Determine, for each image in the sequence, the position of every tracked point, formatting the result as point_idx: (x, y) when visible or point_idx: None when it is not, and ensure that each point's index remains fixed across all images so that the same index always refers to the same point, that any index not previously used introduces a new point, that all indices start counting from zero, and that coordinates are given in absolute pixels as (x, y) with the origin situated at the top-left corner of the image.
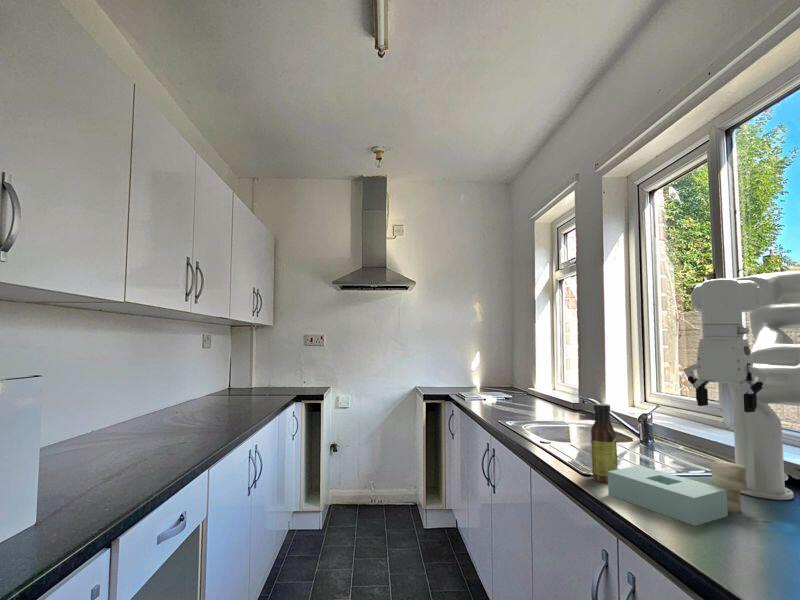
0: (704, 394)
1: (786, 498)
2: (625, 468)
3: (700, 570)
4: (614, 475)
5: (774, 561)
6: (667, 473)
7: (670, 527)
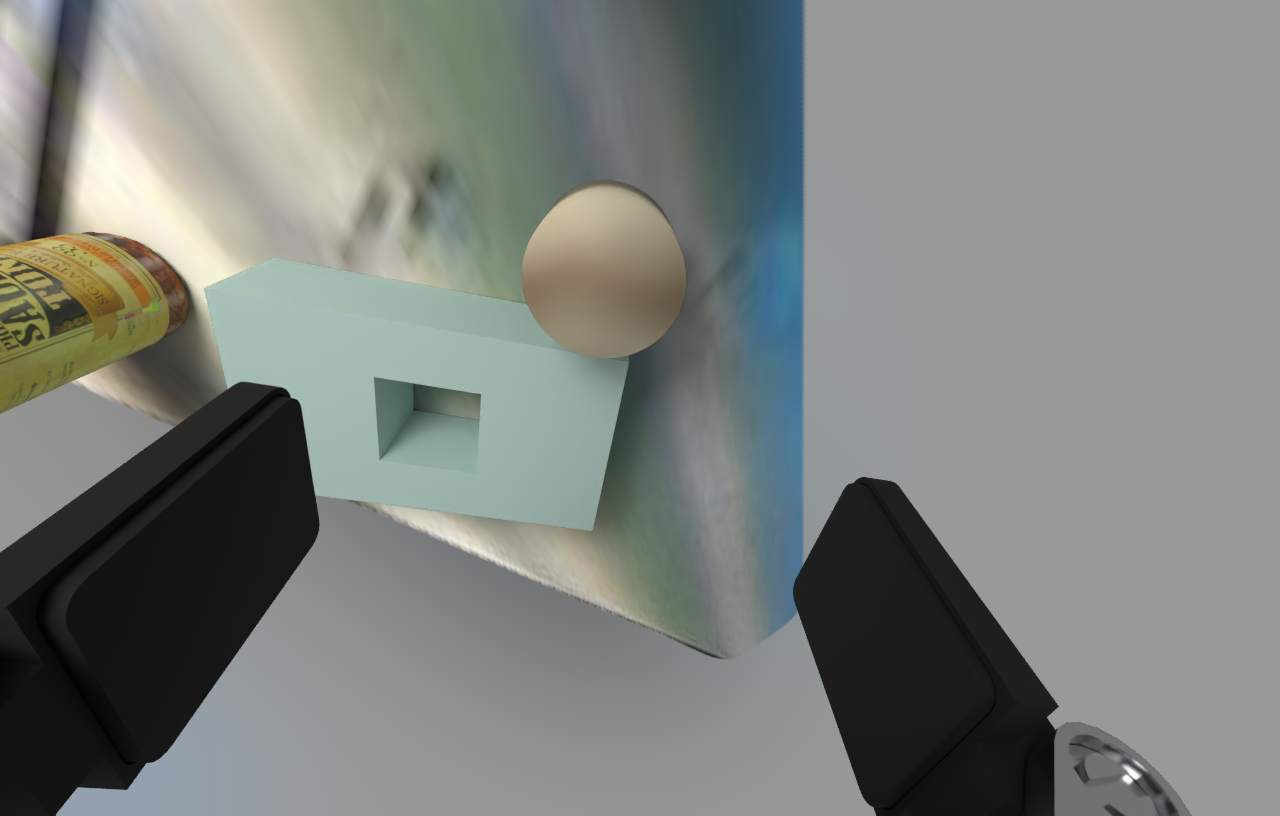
0: (197, 590)
1: None
2: None
3: (679, 639)
4: None
5: (772, 529)
6: (369, 320)
7: None
